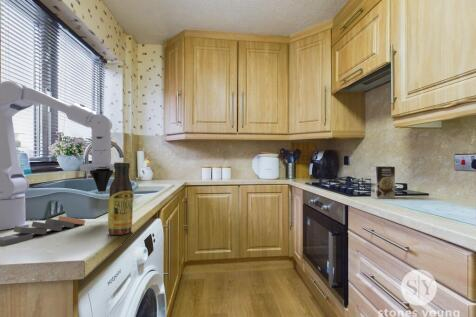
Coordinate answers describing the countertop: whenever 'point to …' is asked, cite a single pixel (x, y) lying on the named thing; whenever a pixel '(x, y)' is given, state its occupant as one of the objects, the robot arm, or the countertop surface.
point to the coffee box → (383, 182)
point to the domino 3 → (46, 226)
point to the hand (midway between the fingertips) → (101, 191)
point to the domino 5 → (71, 220)
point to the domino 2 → (29, 230)
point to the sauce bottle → (120, 201)
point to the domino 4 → (59, 223)
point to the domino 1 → (15, 238)
